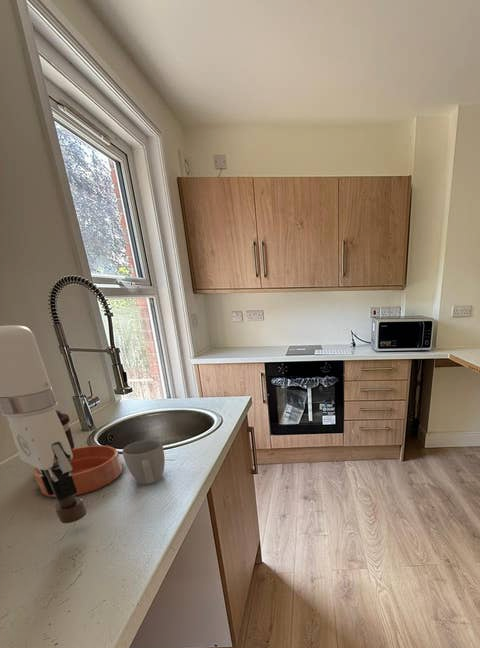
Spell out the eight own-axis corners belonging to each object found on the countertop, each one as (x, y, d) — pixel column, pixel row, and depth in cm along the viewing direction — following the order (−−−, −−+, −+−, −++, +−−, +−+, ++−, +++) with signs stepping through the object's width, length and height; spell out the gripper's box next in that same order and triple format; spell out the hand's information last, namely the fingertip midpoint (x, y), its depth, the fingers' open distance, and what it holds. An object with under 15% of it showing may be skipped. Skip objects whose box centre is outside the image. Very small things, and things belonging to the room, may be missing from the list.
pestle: (65, 526, 66) (43, 476, 61) (56, 518, 68) (34, 469, 64) (90, 514, 69) (71, 466, 64) (81, 506, 71) (62, 459, 67)
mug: (130, 477, 90) (121, 444, 86) (167, 469, 94) (159, 436, 90) (133, 500, 80) (122, 463, 77) (173, 489, 84) (165, 454, 81)
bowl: (64, 507, 78) (55, 484, 76) (29, 488, 87) (20, 466, 84) (136, 473, 92) (131, 453, 90) (100, 459, 100) (94, 440, 98)
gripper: (-19, 401, 60) (20, 492, 67) (23, 416, 52) (62, 517, 59) (32, 390, 66) (63, 475, 73) (76, 402, 58) (106, 495, 65)
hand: (62, 493), depth 66 cm, fingers closed on pestle, 2 cm apart
